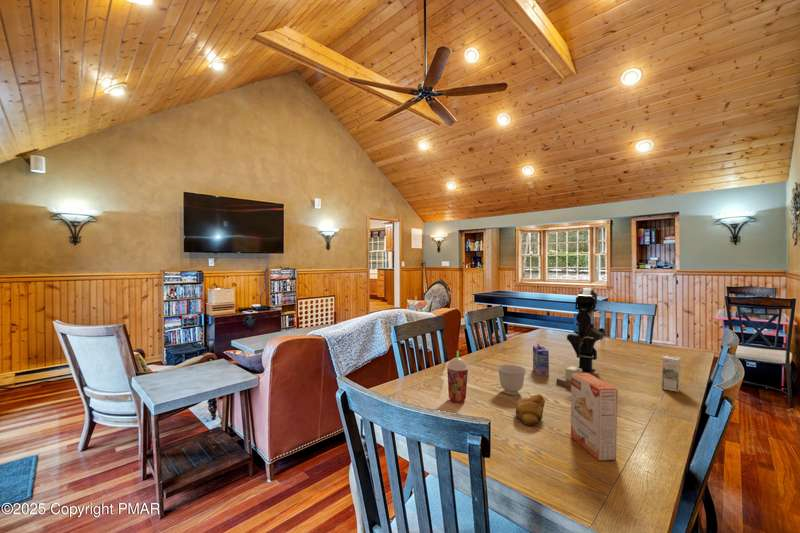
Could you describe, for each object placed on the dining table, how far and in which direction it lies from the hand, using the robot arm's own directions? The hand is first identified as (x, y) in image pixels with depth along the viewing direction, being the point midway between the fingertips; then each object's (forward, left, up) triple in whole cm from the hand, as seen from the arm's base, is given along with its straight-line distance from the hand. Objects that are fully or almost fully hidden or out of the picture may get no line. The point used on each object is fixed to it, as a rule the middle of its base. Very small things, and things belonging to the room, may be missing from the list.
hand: (583, 354), depth 168 cm
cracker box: (+56, +37, -12) cm, 68 cm away
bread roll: (+57, +14, -12) cm, 60 cm away
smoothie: (+68, -11, -12) cm, 70 cm away
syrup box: (-21, +27, -12) cm, 36 cm away
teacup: (+41, -7, -12) cm, 43 cm away
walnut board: (+11, +2, -13) cm, 17 cm away
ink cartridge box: (+9, -17, -12) cm, 23 cm away
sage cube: (+11, +2, -10) cm, 15 cm away
